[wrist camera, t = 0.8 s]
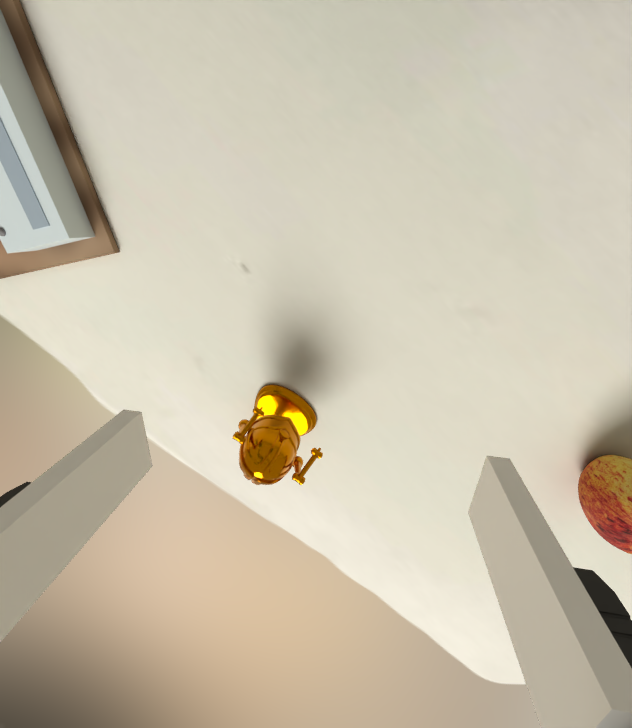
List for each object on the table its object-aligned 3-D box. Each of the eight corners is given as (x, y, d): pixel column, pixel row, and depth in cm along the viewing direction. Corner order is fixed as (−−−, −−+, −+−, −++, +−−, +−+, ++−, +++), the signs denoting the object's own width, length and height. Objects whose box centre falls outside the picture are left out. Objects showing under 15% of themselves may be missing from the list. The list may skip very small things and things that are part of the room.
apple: (547, 457, 40) (600, 527, 31) (632, 427, 37) (717, 494, 28) (574, 507, 42) (630, 586, 33) (656, 483, 39) (742, 562, 30)
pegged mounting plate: (-72, 25, 30) (-126, 2, 27) (-5, -5, 29) (-54, -34, 26) (37, 250, 38) (5, 253, 35) (95, 236, 36) (67, 238, 33)
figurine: (333, 406, 42) (321, 473, 31) (285, 456, 46) (260, 530, 35) (279, 365, 40) (246, 420, 30) (235, 420, 45) (192, 485, 34)
